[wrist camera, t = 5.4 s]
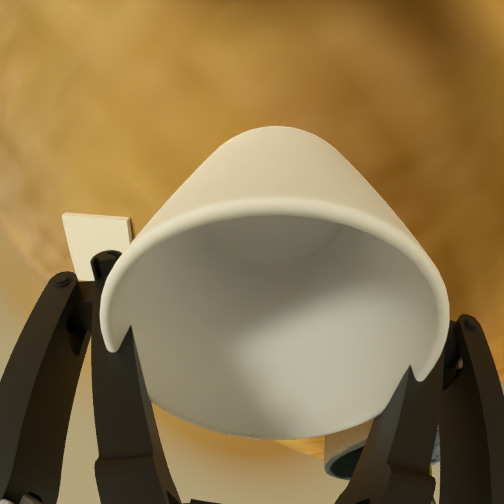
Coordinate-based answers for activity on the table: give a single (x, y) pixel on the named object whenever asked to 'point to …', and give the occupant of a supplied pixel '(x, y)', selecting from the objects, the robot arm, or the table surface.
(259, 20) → the table surface
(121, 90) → the table surface
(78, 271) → the coaster
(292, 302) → the mug
